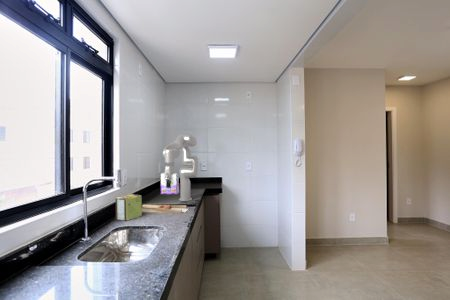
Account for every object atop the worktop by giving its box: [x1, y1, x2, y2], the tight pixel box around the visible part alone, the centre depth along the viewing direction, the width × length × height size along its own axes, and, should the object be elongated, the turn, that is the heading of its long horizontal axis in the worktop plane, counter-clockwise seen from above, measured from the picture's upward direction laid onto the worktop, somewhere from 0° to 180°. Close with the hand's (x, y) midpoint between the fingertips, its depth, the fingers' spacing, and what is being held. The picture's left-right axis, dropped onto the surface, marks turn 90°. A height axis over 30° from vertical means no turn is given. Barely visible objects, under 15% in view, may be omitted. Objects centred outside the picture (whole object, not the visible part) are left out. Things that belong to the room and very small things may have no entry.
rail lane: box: [142, 203, 188, 214], centre depth 209 cm, size 15×38×2 cm, turn 83°
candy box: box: [159, 172, 180, 195], centre depth 208 cm, size 14×6×16 cm, turn 83°
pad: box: [170, 208, 189, 214], centre depth 207 cm, size 11×15×1 cm
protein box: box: [115, 194, 143, 222], centre depth 187 cm, size 10×15×16 cm
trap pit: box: [156, 204, 171, 209], centre depth 208 cm, size 11×7×3 cm, turn 173°
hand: (169, 186), depth 208 cm, fingers closed on candy box, 5 cm apart
